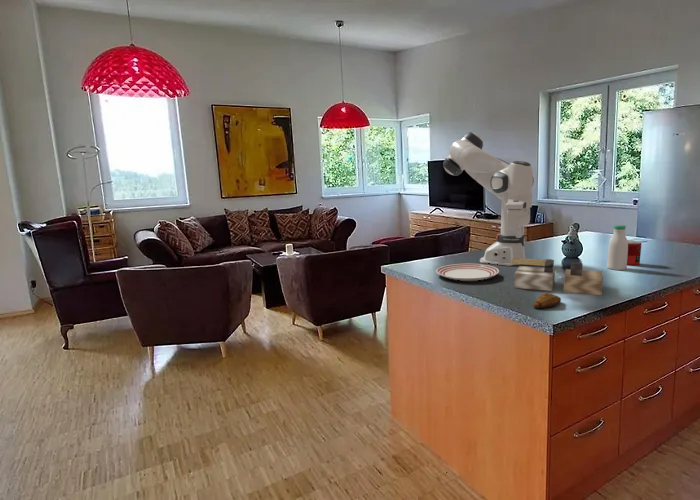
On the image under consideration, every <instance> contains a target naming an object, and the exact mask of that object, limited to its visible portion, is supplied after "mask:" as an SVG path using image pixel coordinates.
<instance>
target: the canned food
mask: <svg viewBox="0 0 700 500" xmlns="http://www.w3.org/2000/svg"><path fill="white" fill-rule="evenodd" d="M627 241H628V255H627V267H628V266H629V267H630V266H631V267H635V266H640V263H641V256H642V255H641V253H642V241H641V240H632V239H627Z"/></svg>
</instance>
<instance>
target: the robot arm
mask: <svg viewBox="0 0 700 500" xmlns="http://www.w3.org/2000/svg"><path fill="white" fill-rule="evenodd" d="M483 147H484V142H483V140H482V138H481V136H479V134H477V133H475V132H471V131H469V132H467V133H465V134H464V135H463V136H462V138H461V139H457V140H455V141H454V142H453V143H452V144H451V145H450V146H449V150H448V151H449V153H448V155H447V156H446V158H445V159H444V160H443V162H442V165H443V168H444V170H445V172H446V173H447V174H449V175H451V176H454V177H455V176H456V177H457V176H459V175H461V174H462V173H463V171H465V173H467V174H468V175H469V176H470V177H471V178H472V179H473V180H475V182H476V183H478V184H479V185H481V186H482V187H483V188H484V189H485V190H487V191H488V192H490V193H491V194H493V195H494V196H495V197H497V198H498V199H499V200H500V201H501V202H500V203H501V207H500V208H501V211H500V233H498V234H497V235H496V238H495V239H496V241H495V242H494V243H492V244H491V245H489V246H488V247H487V248H486V249H485V252H484V256H482V257H480V258H479V262H480V264H481V263H482V264H488V263H490V264H491V265H497V264H498V265H499V266H508V267H509V266H510V267H512V266H516V265H517V266H521V264H512V258H524V259H527V258H526V254H525V245H526V235H525V226H526V225H528V224H530V221H531V208H532V207H533V191H532V189H533V185H534V183H535V181H534V174H533V173H534V172H533V167H532V164H531V163H529V162H527V161H523V160H522V161H520V160H514V161H512V162H510V163H508V162H507V161H505V160H502V159H500V158H499V157H496V156H494V155H493V154H490V153H489V152H487V151H484V150H483ZM490 264H489V265H490Z"/></svg>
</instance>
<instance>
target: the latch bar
mask: <svg viewBox="0 0 700 500" xmlns="http://www.w3.org/2000/svg"><path fill="white" fill-rule="evenodd" d="M512 264H520V265H523V266H525V265H526V266H528V265H529V266H542V267H544V266H546V267H553V268H554V266H555V260H554V259H551V258H546V259H539V258H526V259H524V258H512Z"/></svg>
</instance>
